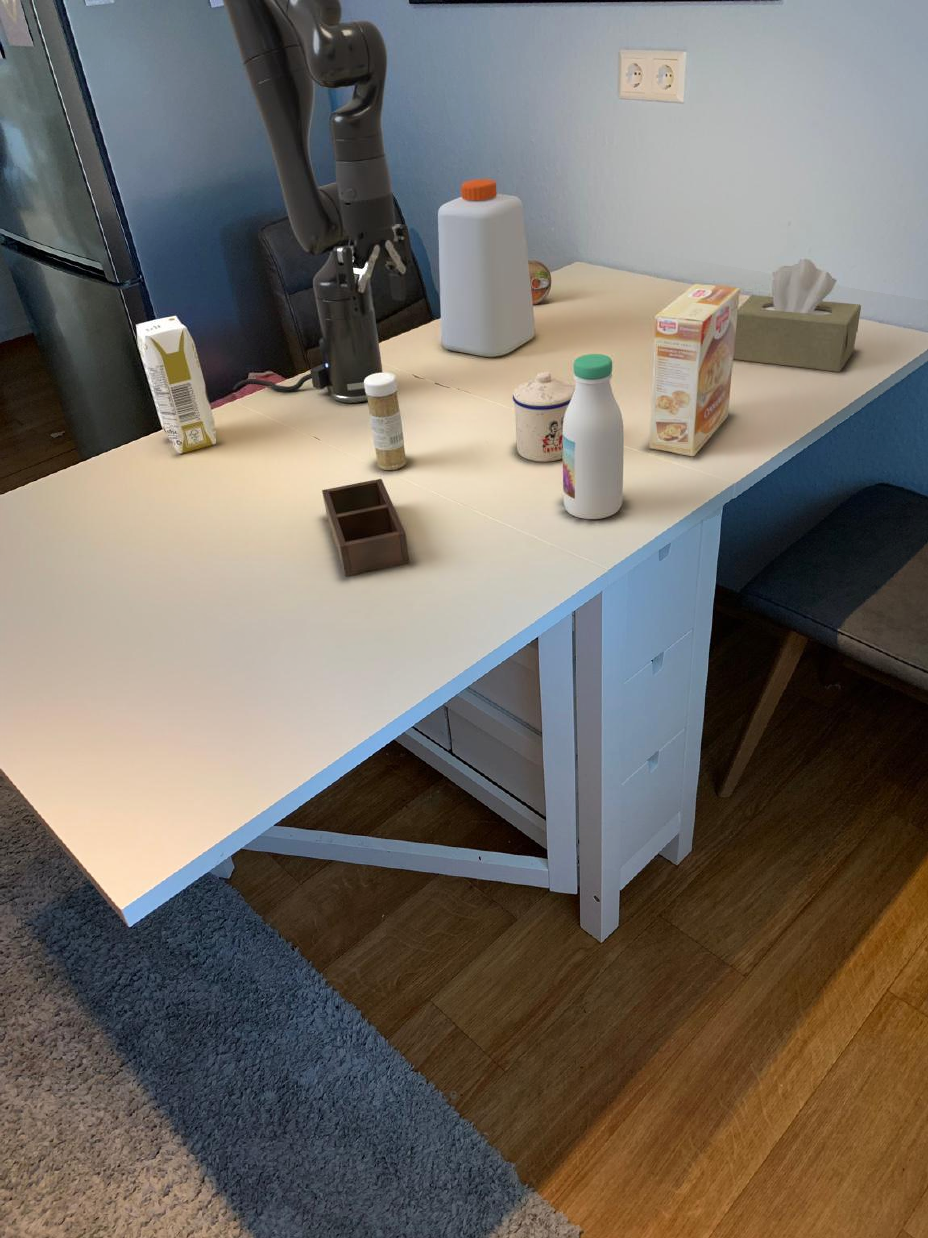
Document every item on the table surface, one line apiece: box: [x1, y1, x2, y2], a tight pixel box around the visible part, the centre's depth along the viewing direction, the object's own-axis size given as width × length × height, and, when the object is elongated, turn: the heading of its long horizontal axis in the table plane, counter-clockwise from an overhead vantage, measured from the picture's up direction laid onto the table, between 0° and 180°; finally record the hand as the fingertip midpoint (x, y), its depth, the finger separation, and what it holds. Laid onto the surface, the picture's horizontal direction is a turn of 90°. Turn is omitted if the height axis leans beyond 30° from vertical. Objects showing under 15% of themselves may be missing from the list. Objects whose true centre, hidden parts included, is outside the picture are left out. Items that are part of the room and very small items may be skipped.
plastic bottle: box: [437, 178, 536, 358], centre depth 168 cm, size 15×15×28 cm
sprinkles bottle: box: [364, 372, 408, 471], centre depth 134 cm, size 5×5×13 cm
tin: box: [528, 260, 552, 305], centre depth 191 cm, size 15×3×8 cm, turn 81°
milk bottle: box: [562, 353, 625, 520], centre depth 117 cm, size 8×8×20 cm
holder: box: [321, 478, 411, 577], centre depth 120 cm, size 8×15×4 cm, turn 15°
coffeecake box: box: [649, 283, 741, 457], centre depth 133 cm, size 15×7×20 cm, turn 148°
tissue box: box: [733, 258, 862, 373], centre depth 154 cm, size 19×10×16 cm, turn 59°
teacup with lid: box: [512, 371, 575, 463], centre depth 135 cm, size 12×9×12 cm
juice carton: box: [135, 315, 217, 454], centre depth 144 cm, size 8×9×19 cm
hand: (380, 308), depth 139 cm, fingers open, 8 cm apart
